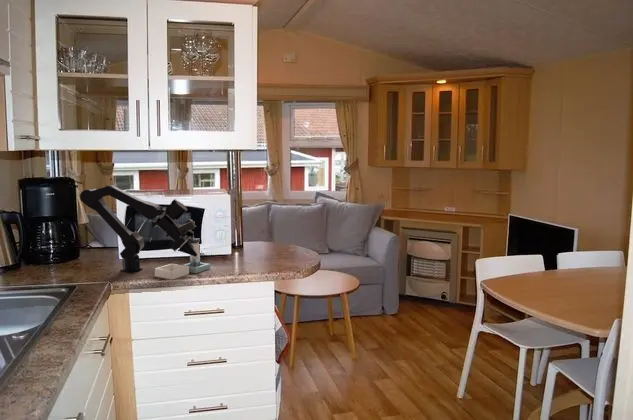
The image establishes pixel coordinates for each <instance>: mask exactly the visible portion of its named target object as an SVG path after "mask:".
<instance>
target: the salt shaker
mask: <svg viewBox="0 0 633 420" xmlns="http://www.w3.org/2000/svg"><path fill="white" fill-rule="evenodd" d="M199 242H200V238H195V237H194V238H189V244H190V246H191V247H192V248H193V249H194V250H195V252H196V253H197V254H198V255H197V256H196V257H195V256H193V255H190V254H189V263H190V266H192V267H198V266H200V262H201V253H200V245H199Z"/></svg>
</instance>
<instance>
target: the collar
mask: <svg viewBox="0 0 633 420" xmlns="http://www.w3.org/2000/svg"><path fill="white" fill-rule="evenodd" d="M183 265H184V266H189V273H192V274H197V273H200V272H201V273H202V272H204V271H208V270H210V269H211V263H207V262H201V261H200V266H198V267H192V266H190V262H189V263H185V264H183Z"/></svg>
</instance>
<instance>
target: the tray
mask: <svg viewBox="0 0 633 420" xmlns="http://www.w3.org/2000/svg"><path fill="white" fill-rule="evenodd" d="M154 275H155V277H156V278H162V279H167V280H176V279H178V278H182V277H184V276H187V275H190V272H189V266H184V264H177V263H169V264H166V265H163V266H159V267H155V268H154Z"/></svg>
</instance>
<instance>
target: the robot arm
mask: <svg viewBox="0 0 633 420" xmlns="http://www.w3.org/2000/svg"><path fill="white" fill-rule="evenodd" d="M107 196H110V197H112V198H114V199H115V200H116V201H117V200H118V201H119V202H121V203H123V204H126V205H127V206H129V207H131V208H134V209H135V210H136V211H137V212H139V214H140V215H142V216H143V217H145V219H147V220H152V221H151V228H152V229H155V228H156V227H158V228H159V229H160V230H161V231H162V232H163V233H164V234H165V237H166V238H168V237H169V238H170V239H171V240H172V241H173V242H172V244H171V246H170V247H171V250H172V251H173V252H176V251H177V252H181V253H184V254H187V255H189V256H190V255H193V256H195V257H196V256H197V255H198V254H197V253H196V252H195V250H194V249H193V248H192V247H191V246H190V244H189V238H195V237H194V231H192V230H193V229H195V227H197V226H196V225H195V221H193V219H192V218H188V219H187V220H185V223H184V224H180V223H176V222H175V220H176V221H177V220H180V218H181V217H182V216H183V215H185V213H186V212H187V211H188V208H187V207H186V206H185V205H184V203H182V202H181V201H179V200H177V199H175V198H174V199H172V201H171V203H170V204H169V205H168V206H160V205H159V204H157V203H154V202H151V201H148V200H143V199H141V198H138V197H137V196H135V195H133V194H130V193H129V192H127V191H125V190H123V189H121V188H119V187H117V186H116V185H115V184H108V185H105V186H104V187H100V188H93V187H92V188H88V189H87V188H86V189H85V190H82V191H81V192H80V194H79V200H80V201H81V202H82V204H84V205H85V206H86V207H88V208H89V209H92V210H93V211H95V212H96V213H97V214H98V215H99V217H101V218H102V220H103V221H105V223H106V224H107V225H108V226H109V227H110V228H111V229H112V230H113V232H114V233H115V234H116V235H117V236H118V237H119V238H120V241H121V243H122V246H123V249H122V251H121V252H120V253H119V255H120V257H121V259H122V268H121V269H119V271H120V272H125V273H130V274H131V273H134V272H139V271H142V270H143V269H144V268H143V267H141V262H140V261H141V260H140V255H138V254H140V252H141V250H143V249H144V247H145V240H144V237H143V236H141V234H140V233H139V232H138V231H137V230H135V231H134V232H133V231H131V230H130V229H129V228H128V227H127V226H126V225H125V224H124V223H123V222H122V221H121V219H119V217H117V215H116V214H115V212H113V211H112V210H111V208H110V207H109V206H108V205H107V204H106V202H105V199H104V198H105V197H107ZM162 215H163V216H162ZM154 219H156V220H154Z"/></svg>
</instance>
